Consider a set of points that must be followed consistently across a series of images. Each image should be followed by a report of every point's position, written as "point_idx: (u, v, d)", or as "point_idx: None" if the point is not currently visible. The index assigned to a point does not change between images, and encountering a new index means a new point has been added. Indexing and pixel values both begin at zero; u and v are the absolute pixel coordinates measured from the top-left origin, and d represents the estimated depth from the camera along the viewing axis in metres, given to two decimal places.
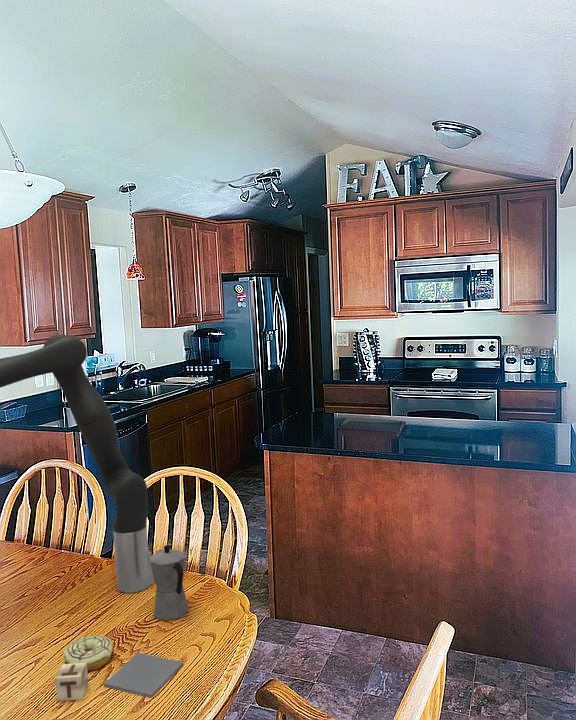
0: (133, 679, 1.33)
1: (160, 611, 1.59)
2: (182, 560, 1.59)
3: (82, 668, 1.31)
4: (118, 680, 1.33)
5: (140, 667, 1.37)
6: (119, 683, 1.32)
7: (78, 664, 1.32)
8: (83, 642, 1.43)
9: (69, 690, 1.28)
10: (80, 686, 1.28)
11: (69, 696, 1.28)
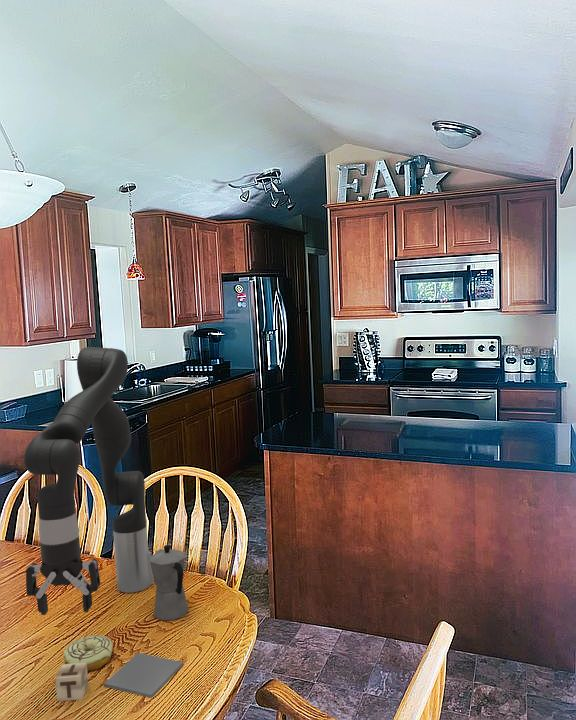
0: (133, 679, 1.33)
1: (160, 611, 1.59)
2: (182, 560, 1.59)
3: (82, 668, 1.31)
4: (118, 680, 1.33)
5: (140, 667, 1.37)
6: (119, 683, 1.32)
7: (78, 664, 1.32)
8: (83, 642, 1.43)
9: (69, 690, 1.28)
10: (80, 686, 1.28)
11: (69, 696, 1.28)
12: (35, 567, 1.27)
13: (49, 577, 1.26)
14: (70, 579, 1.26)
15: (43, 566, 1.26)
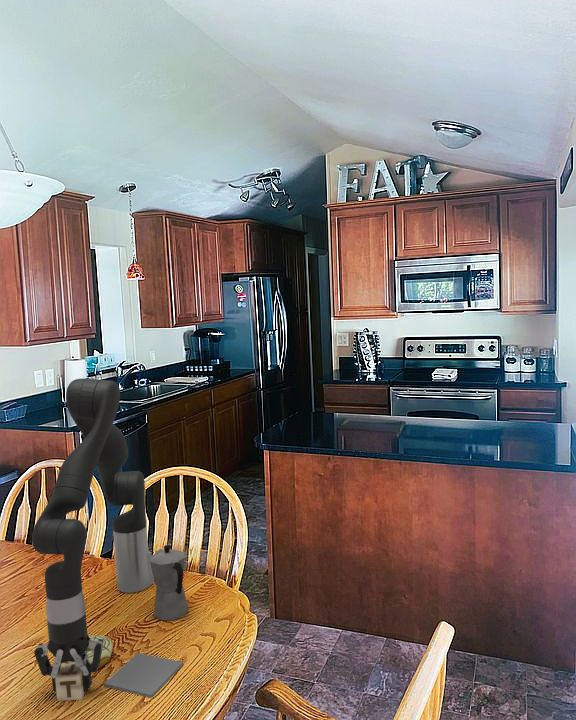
0: (133, 679, 1.33)
1: (160, 611, 1.59)
2: (182, 560, 1.59)
3: None
4: (118, 680, 1.33)
5: (140, 667, 1.37)
6: (119, 683, 1.32)
7: None
8: None
9: (69, 690, 1.28)
10: (80, 686, 1.28)
11: (69, 696, 1.28)
12: (42, 647, 1.29)
13: (57, 655, 1.28)
14: (75, 657, 1.28)
15: (49, 644, 1.28)
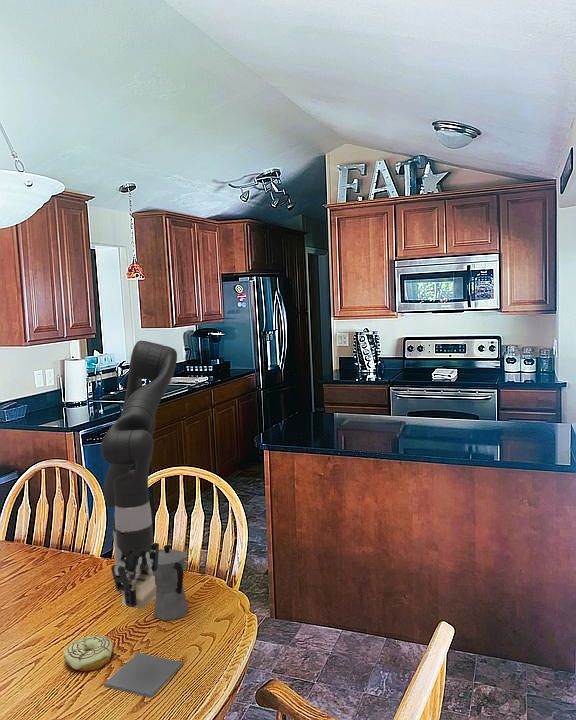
0: (133, 679, 1.33)
1: (160, 611, 1.59)
2: (182, 560, 1.59)
3: None
4: (118, 680, 1.33)
5: (140, 667, 1.37)
6: (119, 683, 1.32)
7: (143, 582, 1.32)
8: (83, 642, 1.43)
9: None
10: None
11: None
12: None
13: None
14: None
15: None
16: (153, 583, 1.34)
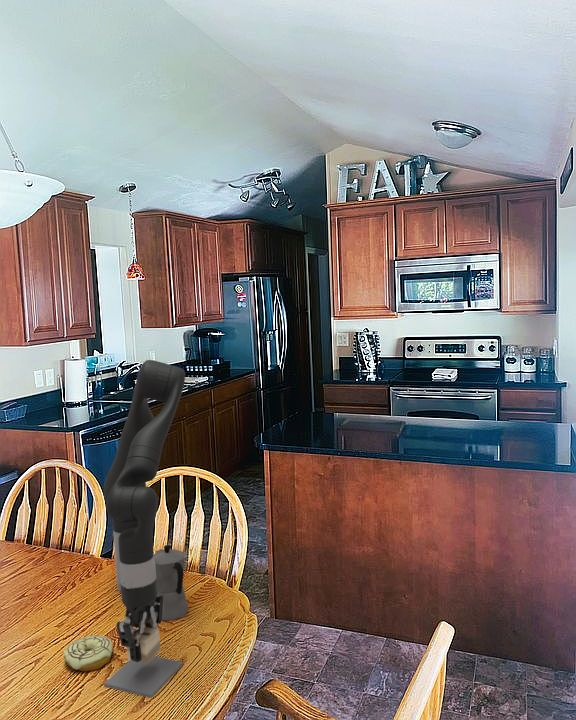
0: (133, 679, 1.33)
1: None
2: (182, 560, 1.59)
3: None
4: (118, 680, 1.33)
5: (140, 667, 1.37)
6: (119, 683, 1.32)
7: (147, 637, 1.33)
8: (83, 642, 1.43)
9: None
10: (127, 647, 1.33)
11: None
12: None
13: None
14: None
15: None
16: (157, 637, 1.35)
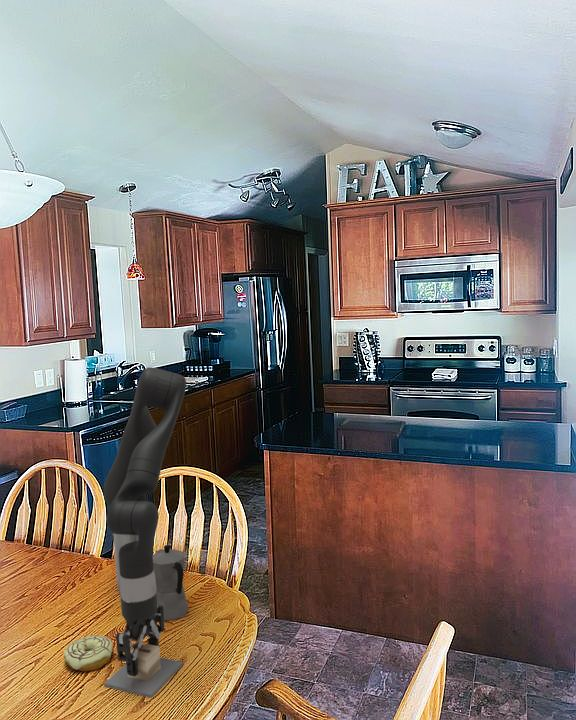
0: (133, 679, 1.33)
1: None
2: (182, 560, 1.59)
3: (138, 656, 1.33)
4: (118, 680, 1.33)
5: None
6: (119, 683, 1.32)
7: (148, 654, 1.33)
8: (83, 642, 1.43)
9: None
10: None
11: None
12: None
13: None
14: None
15: None
16: (158, 653, 1.36)
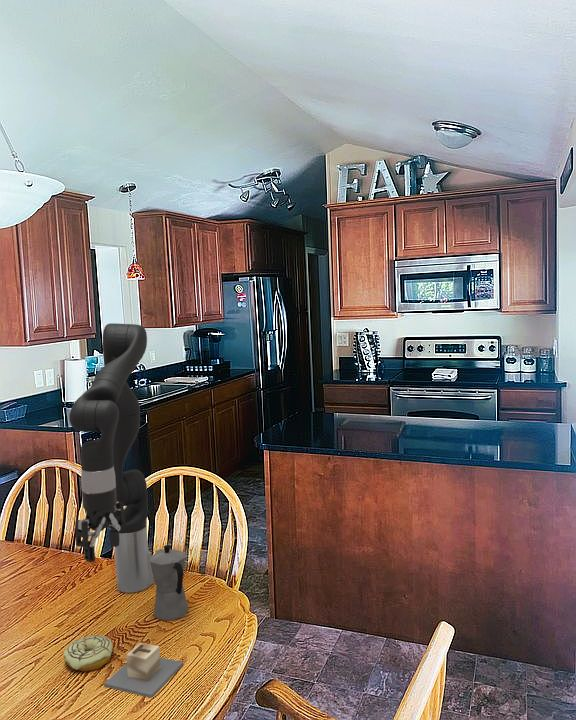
0: (133, 679, 1.33)
1: (160, 611, 1.59)
2: (182, 560, 1.59)
3: (138, 656, 1.33)
4: (118, 680, 1.33)
5: None
6: (119, 683, 1.32)
7: (148, 654, 1.33)
8: (83, 642, 1.43)
9: None
10: None
11: None
12: None
13: None
14: None
15: None
16: (158, 653, 1.36)
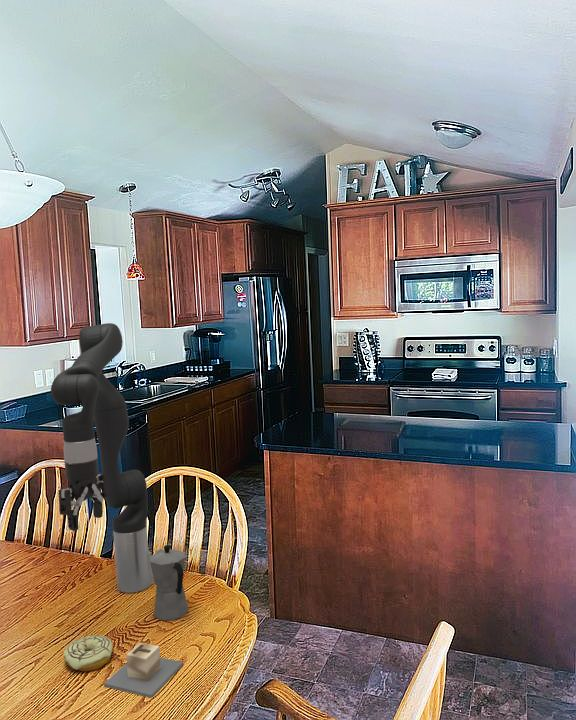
0: (133, 679, 1.33)
1: (160, 611, 1.59)
2: (182, 560, 1.59)
3: (138, 656, 1.33)
4: (118, 680, 1.33)
5: None
6: (119, 683, 1.32)
7: (148, 654, 1.33)
8: (83, 642, 1.43)
9: None
10: None
11: None
12: None
13: None
14: None
15: None
16: (158, 653, 1.36)
